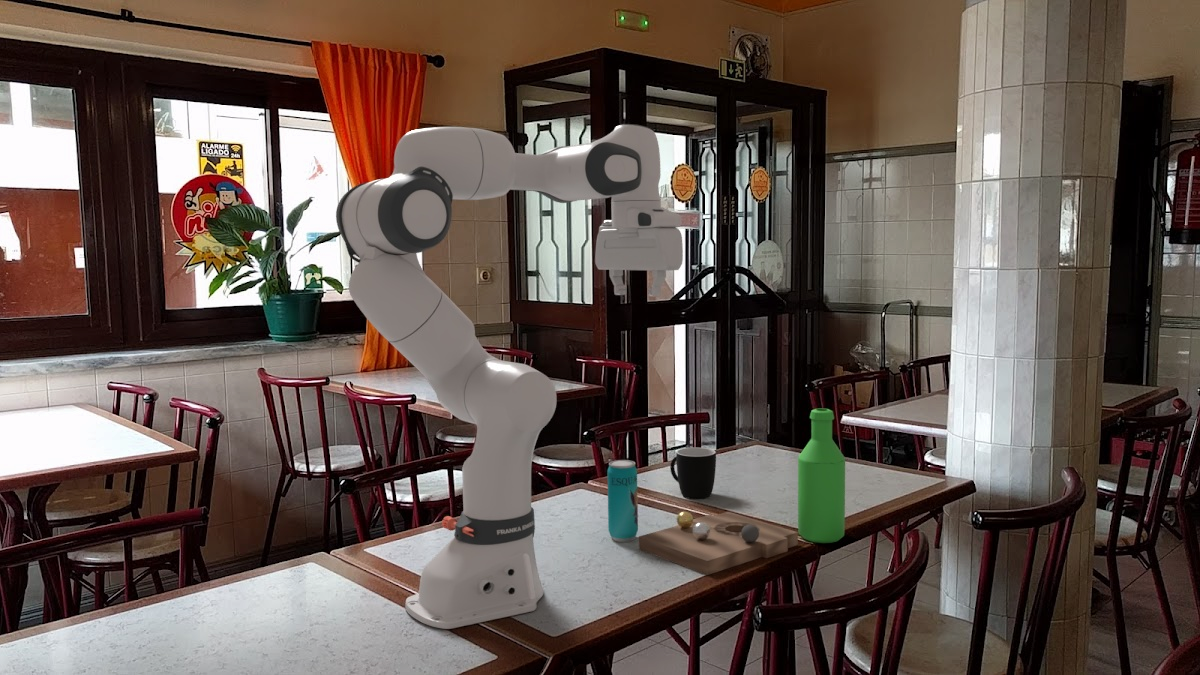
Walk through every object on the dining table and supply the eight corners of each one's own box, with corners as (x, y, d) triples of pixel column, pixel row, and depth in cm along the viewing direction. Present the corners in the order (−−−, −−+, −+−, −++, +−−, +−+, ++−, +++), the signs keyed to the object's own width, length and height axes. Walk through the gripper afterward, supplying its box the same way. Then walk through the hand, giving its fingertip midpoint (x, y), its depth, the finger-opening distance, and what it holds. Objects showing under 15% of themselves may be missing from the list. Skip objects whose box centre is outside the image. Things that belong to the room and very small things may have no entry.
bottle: (852, 536, 178) (854, 409, 175) (830, 547, 171) (831, 415, 169) (812, 527, 184) (813, 404, 181) (789, 538, 177) (789, 410, 175)
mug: (724, 495, 208) (724, 451, 207) (698, 503, 202) (698, 458, 201) (684, 485, 217) (683, 443, 216) (658, 493, 211) (658, 450, 210)
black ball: (750, 546, 165) (750, 528, 165) (737, 541, 168) (737, 524, 168) (762, 542, 167) (762, 525, 167) (749, 538, 170) (749, 521, 170)
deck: (711, 576, 157) (711, 562, 157) (635, 548, 173) (635, 535, 173) (801, 546, 172) (801, 533, 172) (724, 522, 188) (724, 510, 188)
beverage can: (635, 543, 176) (634, 466, 174) (606, 542, 177) (604, 466, 175) (640, 534, 181) (639, 459, 180) (611, 533, 182) (610, 459, 181)
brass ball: (684, 531, 174) (684, 515, 174) (673, 527, 177) (673, 511, 177) (696, 528, 176) (696, 511, 176) (685, 524, 179) (685, 508, 179)
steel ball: (701, 543, 167) (701, 526, 167) (689, 539, 170) (689, 522, 170) (713, 539, 169) (713, 522, 169) (701, 535, 172) (701, 518, 172)
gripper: (586, 220, 170) (587, 294, 171) (661, 216, 154) (662, 298, 155) (612, 220, 174) (613, 293, 175) (688, 216, 158) (689, 296, 159)
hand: (637, 295), depth 165 cm, fingers open, 8 cm apart
